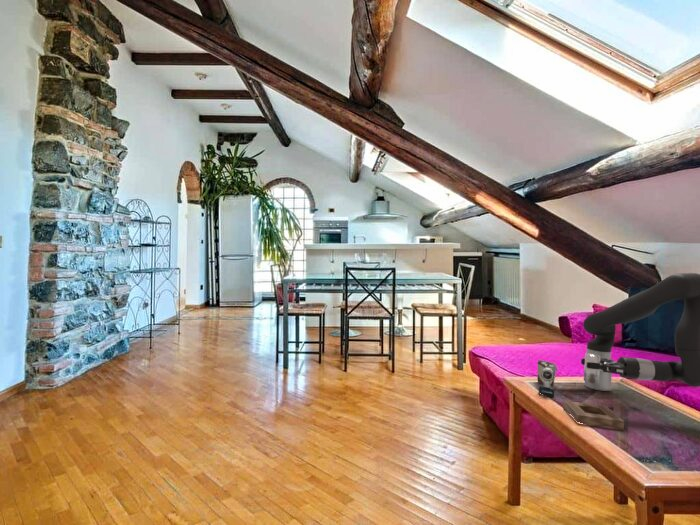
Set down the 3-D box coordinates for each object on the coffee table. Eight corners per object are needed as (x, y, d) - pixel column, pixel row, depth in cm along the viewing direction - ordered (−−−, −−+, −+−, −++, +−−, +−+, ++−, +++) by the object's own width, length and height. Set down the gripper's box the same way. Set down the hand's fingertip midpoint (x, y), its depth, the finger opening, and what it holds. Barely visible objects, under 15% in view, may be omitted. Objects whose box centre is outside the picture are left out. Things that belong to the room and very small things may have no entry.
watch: (538, 395, 155) (540, 369, 155) (539, 390, 162) (541, 365, 162) (553, 398, 152) (555, 371, 152) (554, 393, 159) (556, 367, 159)
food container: (560, 391, 162) (562, 368, 162) (545, 389, 163) (547, 366, 163) (550, 382, 174) (551, 361, 174) (536, 381, 175) (537, 359, 175)
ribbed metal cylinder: (595, 380, 142) (597, 354, 142) (601, 384, 138) (602, 357, 138) (581, 378, 144) (583, 352, 143) (586, 382, 139) (588, 355, 139)
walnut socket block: (605, 415, 139) (605, 405, 139) (623, 431, 125) (624, 421, 125) (563, 409, 142) (564, 400, 142) (577, 425, 128) (577, 414, 128)
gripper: (626, 353, 144) (577, 349, 148) (647, 363, 130) (592, 357, 134) (625, 373, 144) (576, 367, 148) (645, 384, 130) (591, 378, 134)
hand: (584, 363), depth 141 cm, fingers closed on ribbed metal cylinder, 4 cm apart
